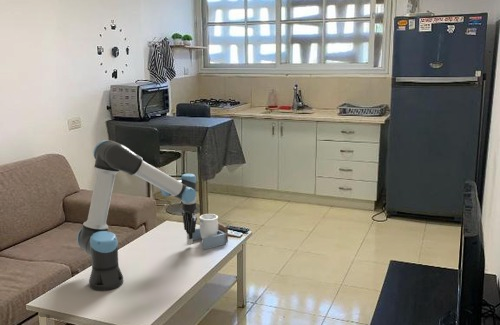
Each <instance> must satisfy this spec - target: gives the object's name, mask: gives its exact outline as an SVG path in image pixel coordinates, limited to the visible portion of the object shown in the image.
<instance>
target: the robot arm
mask: <svg viewBox="0 0 500 325" xmlns="http://www.w3.org/2000/svg"><path fill="white" fill-rule="evenodd" d="M93 157H94V159H95V163H94V166H93V167H94V169H95V171H96V174H95V179H94V184H93V190H92V195H91V200H90V206H89V210H88V216H87V219H86V221H84V222H83V225H82V228H80V229H79V230H78V233H77V236H76V241H77V244H78V246H79V248H80V249H81V250H82V251H84V252H85V253H87V254H88V255H89V256H90V258H91V272H90V275H89V279H88V285H89V286H88V287H89V288H90V289H91V290H94V291H99V292H104V291H105V292H106V291H110V290H114V289H117V288H119V287H120V286H122V285H123V283H124V276H123V273H122V270H121V269H120V266H119V248H118V246H119V245H118V244H119V243H118V242H119V241H118V238H117V235H116V234H115V233H114V232H111V231H108V230H109V225H108V223H107V221H108V220H107V219H108V216H109V215H108V214H109V210H110V209H109V208H110V205H111V200H112V194H113V190H114V184H115V180H116V175H117V174H118V173H119V172H123V173H126V174H128V175H130V176H136V177H138V178H140V179H141V180H144V181H146V183H147V182H148V183H149V184H151V185H153V186H154V187H156V188H159V189H160V193H161V195H162V196H163V197H170V196H172V197H174V198H176V199H178V200H181V202H182V203H181V208H182V210H183V211H182V212H181V215H182V221H183V229H184V231H185V232H186V244H187V245H192V244H193V242H194V240H193V237H192V233H195V229H196V226H197V221H198V217H197V216H195V210H196V211H197V178H196V175H195V174H194V173H183V174H181V178H180V179H176V178H174V177H172V176H171V175H169V174H167V173H166V172H163V171H162V170H160V169H158V168H157V167H155V166H154V165H152V164H149V163H148V162H146V161H145V160H143V157H142V156H140V155H139V154H136V152H134V151H133V150H131V149H130V148H129V147H127V146H126V145H124V144H121V143H119V142H116V141H113V140H110V139H104V140H101V141H100V142H98V143H97V144H96V145H95V147H94V149H93Z"/></svg>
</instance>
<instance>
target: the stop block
mask: <svg viewBox="0 0 500 325" xmlns="http://www.w3.org/2000/svg"><path fill="white" fill-rule="evenodd" d="M217 221H218V229H219V230H220V231H222V232H224V233H226V243H227V242H228V241H229V240H228V239H229V231H228V230H229V227H228V225H226V224H225V223H222V222H221V221H219V220H217Z"/></svg>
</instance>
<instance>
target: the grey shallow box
mask: <svg viewBox="0 0 500 325" xmlns="http://www.w3.org/2000/svg"><path fill="white" fill-rule="evenodd" d="M192 237H193V241H194V240H195V241H196V240H199V239H202V237H201V232H200V227H197V228H196V227H195V233H192ZM202 240H203V243H202V249H203V250H208V249H212V248H216V247H220V246H223V245H226V244H227V242H226V233H224V232H222V231H220V230H219V229H218V234H217V235H215V236H211V237H207V238H203V239H202Z"/></svg>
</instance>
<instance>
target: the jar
mask: <svg viewBox="0 0 500 325" xmlns="http://www.w3.org/2000/svg"><path fill="white" fill-rule="evenodd" d="M218 219H219V216H218V215H217V214H215V213H205V214H201V215H200V216H199V220H200V222H199V228H200V232H201V237H202V238H201V239H202V240H201V242H202V244H203V238H207V237H211V236H215V235H217V234H218V221H219V220H218Z"/></svg>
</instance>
